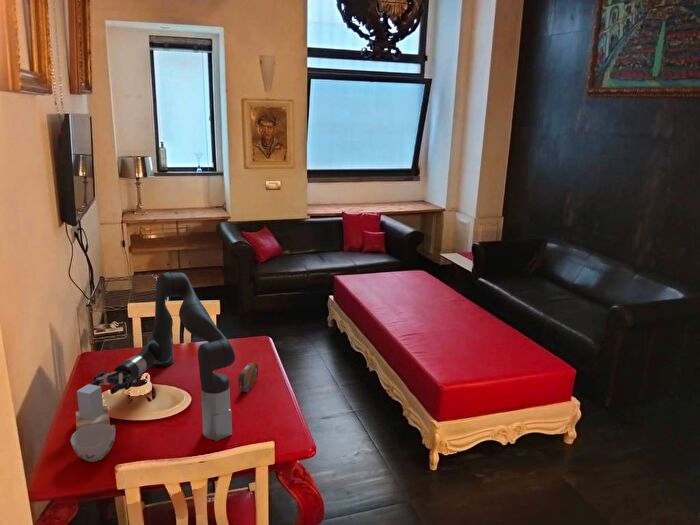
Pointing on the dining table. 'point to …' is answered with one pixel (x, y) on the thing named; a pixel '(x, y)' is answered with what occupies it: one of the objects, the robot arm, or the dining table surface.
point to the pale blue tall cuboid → (90, 402)
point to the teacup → (93, 441)
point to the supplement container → (167, 363)
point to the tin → (248, 377)
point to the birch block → (99, 420)
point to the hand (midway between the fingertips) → (100, 389)
